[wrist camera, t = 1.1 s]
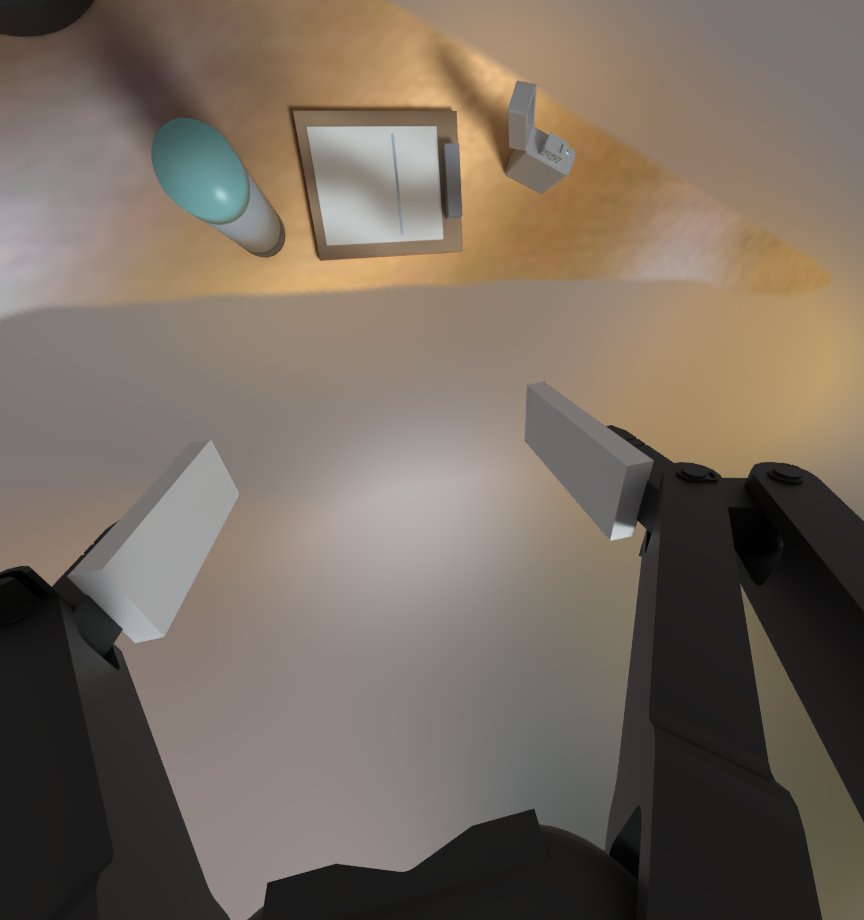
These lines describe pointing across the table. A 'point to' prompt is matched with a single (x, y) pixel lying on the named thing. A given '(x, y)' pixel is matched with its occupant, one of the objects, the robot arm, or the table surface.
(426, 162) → the clipboard
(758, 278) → the table surface
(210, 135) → the grey teal cylinder
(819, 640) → the robot arm
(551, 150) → the lighter
